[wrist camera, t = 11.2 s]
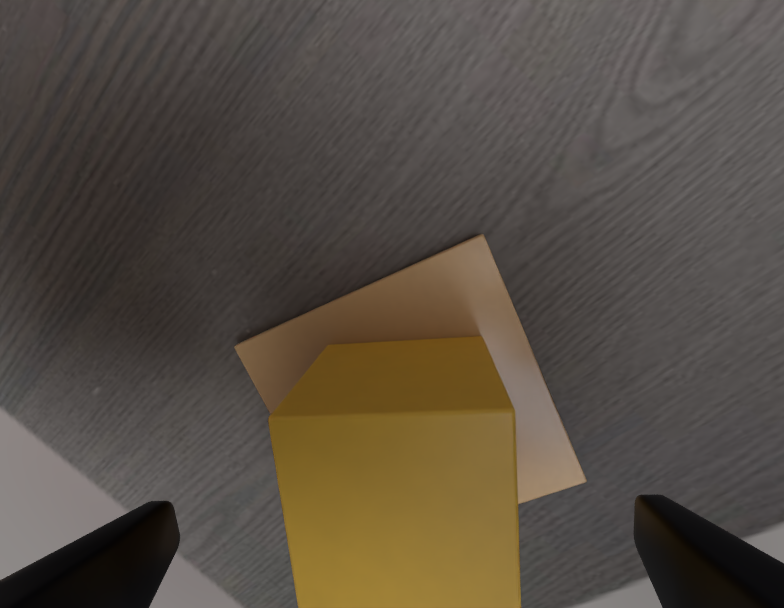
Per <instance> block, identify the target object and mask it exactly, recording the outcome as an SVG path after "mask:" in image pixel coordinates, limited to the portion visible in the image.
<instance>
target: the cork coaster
mask: <svg viewBox="0 0 784 608" xmlns="http://www.w3.org/2000/svg"><path fill="white" fill-rule="evenodd" d="M474 336H481V337H483V339H484V341H485V343H486V346H487V348H488V350H489V352H490V355H491V357H492V359H493V361H494V364H495V366H496V368H497V370H498V373H499V375H500V377H501V380H502V382H503V384H504V386H505V389H506V391H507V393H508V395H509V398H510V400H511V402H512V404H513V407H514V409H515V414H516V449H517V484H518V504H520V503H524V502H527V501H530V500H533V499H536V498H539V497H542V496H545V495H548V494H551V493H554V492H557V491H561V490H564V489H567V488H570V487H573V486H576V485H579V484H582V483H585V482H587V480H586V478H585V475H584V473H583V470H582V468H581V466H580V463H579V461H578V458H577V456H576V454H575V451H574V449H573V446H572V444H571V442H570V439H569V437H568V435H567V432H566V430H565V427H564V425H563V423H562V420H561V418H560V415H559V413H558V411H557V408H556V406H555V404H554V401H553V399H552V396H551V394H550V392H549V389H548V387H547V384H546V382H545V380H544V377H543V375H542V372H541V370H540V368H539V365H538V363H537V361H536V358H535V356H534V353H533V351H532V349H531V346H530V344H529V341H528V339H527V337H526V334H525V332H524V330H523V327H522V325H521V322H520V320H519V318H518V315H517V313H516V310H515V308H514V306H513V303H512V301H511V298H510V296H509V294H508V291H507V289H506V287H505V284H504V282H503V279H502V277H501V275H500V272H499V270H498V267H497V265H496V263H495V260H494V258H493V256H492V253H491V251H490V248H489V246H488V244H487V241H486V239H485V236H484V235H483V234H479V235H477V236H475V237H473V238H471V239H468V240H466V241H464V242H462V243H459V244H457V245H455V246H453V247H451V248H448V249H446V250H444V251H442V252H440V253H437V254H435V255H433V256H431V257H428V258H426V259H424V260H422V261H420V262H417V263H415V264H413V265H411V266H409V267H406V268H404V269H402V270H400V271H397V272H395V273H393V274H391V275H389V276H386V277H384V278H382V279H380V280H378V281H375V282H373V283H371V284H369V285H366V286H364V287H362V288H360V289H358V290H355V291H353V292H351V293H349V294H347V295H344V296H342V297H340V298H338V299H335V300H333V301H331V302H329V303H327V304H324V305H322V306H320V307H318V308H316V309H313V310H311V311H309V312H307V313H304V314H302V315H300V316H298V317H296V318H293V319H291V320H289V321H287V322H285V323H282V324H280V325H278V326H276V327H273V328H271V329H269V330H267V331H265V332H262V333H260V334H258V335H256V336H254V337H251V338H249V339H247V340H245V341H242V342H240V343H239V344H237V345H235V346H234V348H235V350H236V352H237V354H238V355H239V357H240V359H241V361H242V363H243V365H244V366H245V368H246V370H247V372H248V374H249V376H250V378H251V379H252V381H253V383H254V385H255V387H256V389H257V390H258V392H259V394H260V396H261V398H262V400H263V401H264V403H265V405H266V407H267V409H268V411H269V412H270V414H272V413H273V412H274V410H275V409H276V408H277V407H278V405H279V404H280V403H281V402H282V400H283V399H284V398H285V397H286V396H287V394H288V393H289V392H290V391H291V389H292V388H293V387H294V386H295V385H296V383H297V382H298V381H299V380H300V378H301V377H302V376H303V375H304V374H305V372H306V371H307V370H308V369H309V367H310V366H311V365H312V364H313V362H314V361H315V360H316V359H317V358H318V356H319V355H320V354H321V353H322V351H323V350H324V349H325V348H326V347H327V346H328V345H334V344H351V343H369V342H386V341H404V340H422V339H439V338H457V337H474Z"/></svg>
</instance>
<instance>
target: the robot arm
mask: <svg viewBox="0 0 784 608" xmlns="http://www.w3.org/2000/svg"><path fill="white" fill-rule="evenodd" d="M634 540H635V544H636V548H637V550H638V553H639V555H640V557H641V559H642V562H643V564H644V566H645V568H646V571H647V573H648V575H649V578H650V580H651V582H652V584H653V587H654V589H655V591H656V593H657V596H658V598H659V600H660V603H661V605H662V607H663V608H784V563H782V562H780V561H778V560H777V559H775V558H773V557H771V556H769V555H768V554H766V553H764V552H762V551H760V550H759V549H757V548H755V547H754V546H752V545H750V544H748V543H747V542H745V541H743V540H741V539H739V538H738V537H736V536H734V535H732V534H731V533H729V532H727V531H725V530H724V529H722V528H720V527H718V526H716V525H715V524H713V523H711V522H709V521H708V520H706V519H704V518H702V517H701V516H699V515H697V514H695V513H693V512H692V511H690V510H688V509H686V508H685V507H683V506H681V505H679V504H678V503H676V502H674V501H672V500H670V499H669V498H667V497H665V496H663V495H639V496H637V497H636V500H635V512H634ZM179 541H180V533H179V529H178V524H177V519H176V515H175V510H174V507H173V505H172V503H171V502H169V501H151V502H148V503H146V504H144V505H142V506H140V507H138V508H136V509H134V510H132V511H130V512H129V513H127V514H125V515H123V516H121V517H119V518H117V519H115V520H114V521H112V522H110V523H108V524H106V525H104V526H102V527H100V528H98V529H97V530H94V531H93V532H91V533H89V534H87V535H85V536H83V537H81V538H79V539H77V540H76V541H74V542H72V543H70V544H68V545H66V546H64V547H63V548H61V549H59V550H57V551H55V552H53V553H51V554H49V555H47V556H45V557H44V558H42V559H40V560H38V561H36V562H34V563H32V564H30V565H28V566H26V567H25V568H23V569H21V570H19V571H17V572H15V573H13V574H11V575H10V576H7V577H6V578H4V579H2V580H0V608H149V606H150V604H151V602H152V600H153V598H154V596H155V594H156V592H157V590H158V588H159V586H160V584H161V582H162V579H163V577H164V576H165V573H166V572H167V569H168V567H169V565H170V563H171V561H172V559H173V557H174V555H175V553H176V551H177V549H178V546H179Z"/></svg>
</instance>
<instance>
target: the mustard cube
mask: <svg viewBox="0 0 784 608" xmlns="http://www.w3.org/2000/svg"><path fill="white" fill-rule="evenodd" d="M268 424H269V430H270V436H271V442H272V449H273V455H274V461H275V467H276V473H277V479H278V486H279V492H280V498H281V504H282V510H283V517H284V523H285V529H286V535H287V541H288V548H289V554H290V560H291V566H292V572H293V578H294V585H295V591H296V597H297V603H298V608H521V588H520V554H519V519H518V484H517V449H516V414H515V409H514V407H513V404H512V402H511V400H510V398H509V395H508V393H507V391H506V389H505V386H504V384H503V382H502V380H501V377H500V375H499V373H498V370H497V368H496V366H495V364H494V361H493V359H492V357H491V355H490V352H489V350H488V348H487V346H486V343H485V341H484V339H483V337H481V336H474V337H457V338H439V339H422V340H404V341H386V342H369V343H351V344H334V345H328V346H327V347H326V348H325V349H324V350H323V351H322V353H321V354H320V355H319V356H318V358H317V359H316V360H315V361H314V362H313V364H312V365H311V366H310V367H309V369H308V370H307V371H306V372H305V374H304V375H303V376H302V377H301V378H300V380H299V381H298V382H297V383H296V385H295V386H294V387H293V388H292V389H291V391H290V392H289V393H288V394H287V396H286V397H285V398H284V399H283V400H282V402H281V403H280V404H279V405H278V407H277V408H276V409H275V410H274V412H273V413H272V414H271V415H270V416H269V419H268Z"/></svg>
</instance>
